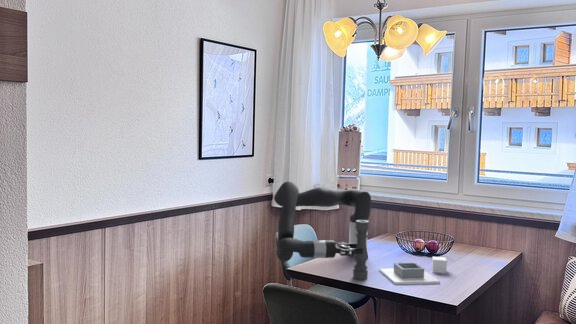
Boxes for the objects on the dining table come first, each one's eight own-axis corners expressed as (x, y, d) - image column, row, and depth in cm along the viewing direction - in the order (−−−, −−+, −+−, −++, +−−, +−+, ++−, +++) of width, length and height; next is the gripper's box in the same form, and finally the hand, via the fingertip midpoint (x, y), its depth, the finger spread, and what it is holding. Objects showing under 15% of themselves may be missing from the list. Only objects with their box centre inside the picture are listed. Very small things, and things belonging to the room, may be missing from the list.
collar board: (379, 270, 238) (379, 260, 238) (420, 270, 241) (421, 259, 241) (394, 284, 218) (395, 272, 218) (439, 283, 221) (440, 272, 221)
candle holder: (356, 280, 222) (358, 222, 220) (350, 276, 228) (352, 219, 226) (369, 279, 224) (372, 222, 222) (363, 275, 230) (366, 219, 228)
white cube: (432, 272, 238) (433, 259, 238) (431, 269, 244) (432, 256, 243) (446, 273, 237) (447, 260, 236) (445, 270, 243) (445, 257, 242)
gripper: (327, 244, 215) (365, 243, 218) (320, 236, 229) (355, 236, 232) (326, 262, 216) (364, 261, 218) (319, 253, 230) (355, 252, 233)
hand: (360, 248), depth 225 cm, fingers open, 8 cm apart
